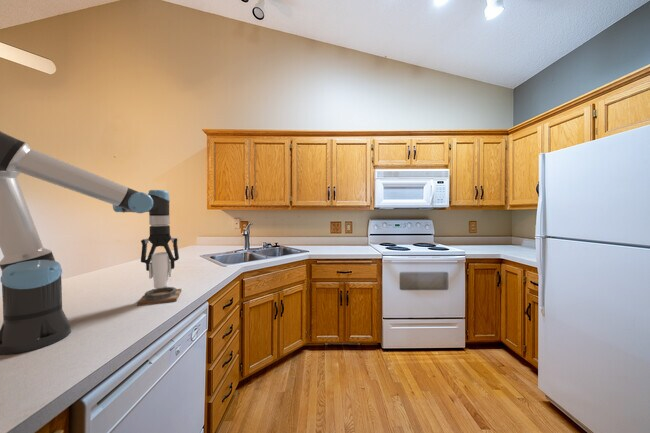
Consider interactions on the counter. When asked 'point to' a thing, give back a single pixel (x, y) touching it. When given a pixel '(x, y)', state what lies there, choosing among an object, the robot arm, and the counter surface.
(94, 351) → the counter surface
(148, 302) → the ring holder
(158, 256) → the drinking glass
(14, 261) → the robot arm
